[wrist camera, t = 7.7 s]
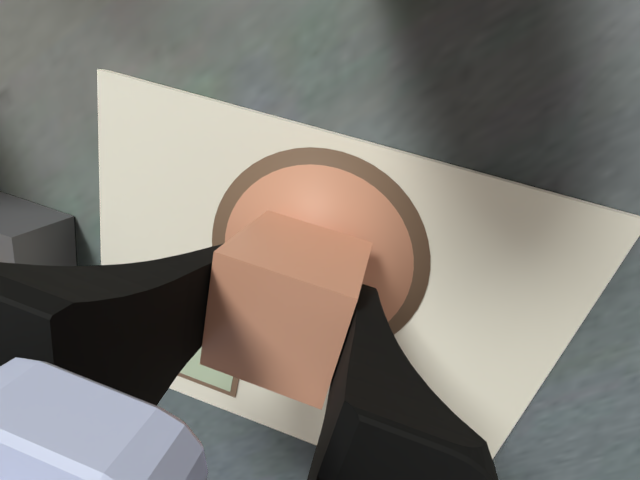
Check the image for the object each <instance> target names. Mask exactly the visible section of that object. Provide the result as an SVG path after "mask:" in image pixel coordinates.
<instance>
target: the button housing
mask: <svg viewBox="0 0 640 480" xmlns="http://www.w3.org/2000/svg"><path fill="white" fill-rule="evenodd" d="M0 262H4V263H17V264H30V265H47V266H77V262H76V243H75V224H74V216H72V215H69V214H66V213H63V212H60V211H57V210H54V209H51V208H48V207H45V206H42V205H39V204H36V203H33V202H30V201H28V200H25V199H22V198H19V197H16V196H13V195H10V194H7V193H4V192H1V191H0Z"/></svg>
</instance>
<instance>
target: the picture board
mask: <svg viewBox="0 0 640 480" xmlns="http://www.w3.org/2000/svg"><path fill="white" fill-rule="evenodd" d="M97 88H98V138H99V187H100V237H101V265H114V264H127V263H135V262H143V261H150V260H156V259H162V258H166V257H171V256H176V255H180V254H185V253H189V252H193V251H197V250H201V249H205V248H209V247H212V246H216V245H220V244H224V243H225V242H227V241H228V240H229V239H231V238H232V237H233V236H235V235H236V234H237V233H238V232H240V231H241V230H242V229H244V228H245V227H246V226H248V225H249V224H250V223H252V222H253V221H254V220H255V219H257V218H258V217H259V216H261V215H262V214H263V213H265V212H266V211H267V210H269V211H272V212H276V213H279V214H282V215H285V216H289V217H292V218H295V219H298V220H301V221H305V222H308V223H311V224H314V225H318V226H321V227H324V228H327V229H331V230H334V231H337V232H340V233H343V234H347V235H350V236H353V237H356V238H360V239H363V240H366V241H369V242H373V243H372V247H371V251H370V255H369V259H368V263H367V266H366V270H365V274H364V278H363V282H362V284H364V285H368V286H371V287H374V288H376V289H377V291H378V295H379V298H380V302H381V305H382V308H383V311H384V313H385V316H386V318H387V321H388V323H389V326H390V328H391V330H392V332H393V334H394V336H395V338H396V340H397V342H398V344H399V346H400V348H401V349H402V351H403V352H404V354H405V355H406V357H407V358H408V360H409V362H410V363H411V364H412V366H413V367H414V369H415V370H416V371H417V373H418V374H419V375H420V376H421V378H422V379H423V380H424V381H425V382H426V384H427V385H428V386H429V387H430V388H431V390H432V391H433V392H434V393H435V394H436V395H437V396H438V397H439V398H440V399H441V400H442V401H443V402H444V403H445V404H446V405H447V406H448V407H449V408H450V410H451V411H452V412H453V413H455V414H456V415H457V416H458V417H459V418H460V419H461V420H462V421H463V422H465V423H466V424H467V425H468V426H469V427H470V428H471V429H473V430H474V431H475V432H476V433H477V434H478V435H479V436H481V437H482V438H483V439H484V440H485V441H486V442H487V445H488V448H489V451H490V454H491V457H492V460H493V458H494V456H495V455H496V453H497V452H498V450H499V449H500V447H501V446H502V444H503V443H504V441H505V440H506V438H507V437H508V435H509V434H510V432H511V431H512V429H513V428H514V426H515V424H516V423H517V421H518V420H519V418H520V417H521V415H522V414H523V412H524V411H525V409H526V408H527V406H528V405H529V403H530V402H531V400H532V399H533V397H534V396H535V394H536V392H537V391H538V389H539V388H540V386H541V385H542V383H543V382H544V380H545V379H546V377H547V376H548V374H549V373H550V371H551V370H552V368H553V367H554V365H555V364H556V362H557V360H558V359H559V357H560V356H561V354H562V353H563V351H564V350H565V348H566V347H567V345H568V344H569V342H570V341H571V339H572V338H573V336H574V335H575V333H576V332H577V330H578V328H579V327H580V325H581V324H582V322H583V321H584V319H585V318H586V316H587V315H588V313H589V312H590V310H591V309H592V307H593V306H594V304H595V303H596V301H597V300H598V298H599V296H600V295H601V293H602V292H603V290H604V289H605V287H606V286H607V284H608V283H609V281H610V280H611V278H612V277H613V275H614V274H615V272H616V271H617V269H618V268H619V266H620V264H621V263H622V261H623V260H624V258H625V257H626V255H627V254H628V252H629V251H630V249H631V248H632V246H633V245H634V243H635V242H636V240H637V239H638V237H639V236H640V216H638V215H635V214H631V213H627V212H624V211H620V210H616V209H613V208H609V207H605V206H602V205H598V204H595V203H591V202H587V201H584V200H580V199H576V198H573V197H569V196H565V195H562V194H558V193H554V192H551V191H547V190H544V189H540V188H536V187H533V186H529V185H525V184H522V183H518V182H514V181H511V180H507V179H503V178H500V177H496V176H493V175H489V174H485V173H482V172H478V171H474V170H471V169H467V168H463V167H460V166H456V165H452V164H449V163H445V162H442V161H438V160H434V159H431V158H427V157H423V156H420V155H416V154H412V153H409V152H405V151H401V150H398V149H394V148H391V147H387V146H383V145H380V144H376V143H372V142H369V141H365V140H361V139H358V138H354V137H350V136H347V135H343V134H340V133H336V132H332V131H329V130H325V129H321V128H318V127H314V126H310V125H307V124H303V123H299V122H296V121H292V120H289V119H285V118H281V117H278V116H274V115H270V114H267V113H263V112H259V111H256V110H252V109H248V108H245V107H241V106H238V105H234V104H230V103H227V102H223V101H219V100H216V99H212V98H208V97H205V96H201V95H197V94H194V93H190V92H187V91H183V90H179V89H176V88H172V87H168V86H165V85H161V84H157V83H154V82H150V81H146V80H143V79H139V78H136V77H132V76H128V75H125V74H121V73H117V72H114V71H110V70H102V69H97ZM201 349H202V347H201V348H200V349H199V350H198V351H197V353H196V354H195V355H194V356H193V357H192V358H191V359H190V360H189V362H188V363H187V364H186V365H185V367H184V368H183V369H182V370H181V371H180V373H179V374H178V376H177V377H176V378H175V380H174V381H173V383H172V384H171V385H170V387H169V388H170V389H173V390H175V391H178V392H180V393H183V394H186V395H188V396H191V397H193V398H196V399H198V400H201V401H204V402H206V403H209V404H211V405H214V406H216V407H219V408H222V409H224V410H227V411H229V412H232V413H234V414H237V415H240V416H242V417H245V418H247V419H250V420H252V421H255V422H258V423H260V424H263V425H265V426H268V427H270V428H273V429H276V430H278V431H281V432H283V433H286V434H288V435H291V436H294V437H296V438H299V439H301V440H304V441H306V442H309V443H312V444H314V445H317V443H318V440H319V436H320V432H321V429H322V425H323V421H324V416H325V411H326V406H327V400H328V394H329V389H330V386H329V389H328V392H327V395H326V398H325V401H324V404H323V407H322V410H321V409H318V408H315V407H313V406H310V405H307V404H305V403H302V402H299V401H297V400H294V399H291V398H289V397H286V396H283V395H281V394H278V393H275V392H273V391H270V390H267V389H265V388H262V387H259V386H257V385H254V384H251V383H249V382H246V381H243V380H241V379H238V378H235V377H233V376H230V375H227V374H225V373H222V372H219V371H217V370H214V369H211V368H209V367H206V366H203V365H201V364H200V358H201Z"/></svg>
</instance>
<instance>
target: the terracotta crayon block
mask: <svg viewBox="0 0 640 480" xmlns="http://www.w3.org/2000/svg"><path fill="white" fill-rule="evenodd" d="M372 243H373V242H369V241H366V240H363V239H360V238H356V237H353V236H350V235H347V234H343V233H340V232H337V231H334V230H331V229H327V228H324V227H321V226H318V225H314V224H311V223H308V222H305V221H301V220H298V219H295V218H292V217H289V216H285V215H282V214H279V213H276V212H272V211H269V210H267V211H266V212H265V213H263V214H262V215H261V216H259V217H258V218H257V219H255V220H254V221H253V222H252V223H250V224H249V225H248V226H246V227H245V228H244V229H242V230H241V231H240V232H238V233H237V234H236V235H235V236H233V237H232V238H231V239H229V240H228V241H227V242H225V243H224V244H223V245H221V246H220V247H219V248H218V249H216V250H215V251H214V253H213V261H212V269H211V277H210V285H209V293H208V301H207V309H206V317H205V325H204V333H203V341H202V349H201V358H200V364H201V365H203V366H206V367H209V368H211V369H214V370H217V371H219V372H222V373H225V374H227V375H230V376H233V377H235V378H238V379H241V380H243V381H246V382H249V383H251V384H254V385H257V386H259V387H262V388H265V389H267V390H270V391H273V392H275V393H278V394H281V395H283V396H286V397H289V398H291V399H294V400H297V401H299V402H302V403H305V404H307V405H310V406H313V407H315V408H318V409H321V410H322V407H323V404H324V401H325V398H326V395H327V392H328V389H329V386H330V383H331V380H332V377H333V374H334V371H335V368H336V365H337V362H338V358H339V355H340V352H341V349H342V346H343V343H344V340H345V337H346V334H347V331H348V328H349V325H350V322H351V319H352V316H353V313H354V310H355V307H356V304H357V301H358V297H359V293H360V290H361V286H362V282H363V278H364V274H365V270H366V266H367V263H368V259H369V255H370V251H371V247H372Z"/></svg>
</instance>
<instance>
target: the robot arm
mask: <svg viewBox="0 0 640 480" xmlns="http://www.w3.org/2000/svg"><path fill="white" fill-rule="evenodd" d="M221 245H223V244H220V245H216V246H212V247H209V248H205V249H201V250H197V251H193V252H189V253H185V254H180V255H176V256H171V257H166V258H162V259H156V260H150V261H143V262H135V263H127V264H114V265H97V266H47V265H30V264H17V263H4V262H0V480H207V474H208V469H207V464H206V458H205V453H204V448H203V446H202V443H201V442H200V441H199V439H198V438H197V437H196V435H195V434H194V433H193V432H192V430H191V429H190V428H189V427H188V425H187V424H186V423H185V422H184V421H182V420H180V419H179V418H177V417H176V416H174V415H172V414H171V413H169V412H167V411H166V410H164V409H163V408H161V407H158V406H157V404H158V403H159V401H160V400H161V398H162V397H163V395H164V394H165V393H166V391H167V390H168V388H169V387H170V385H171V384H172V383H173V381H174V380H175V378H176V377H177V376H178V374H179V373H180V371H181V370H182V369H183V368H184V367H185V365H186V364H187V363H188V362H189V360H190V359H191V358H192V357H193V356H194V355H195V354H196V353H197V351H198V350H199V349H200V348H201V347H202V341H203V333H204V325H205V317H206V309H207V301H208V293H209V285H210V277H211V269H212V261H213V253H214V251H215V250H216V249H218V248H219V247H220V246H221ZM307 480H498V476H497V473H496V469H495V466H494V462H493V460H492V457H491V454H490V451H489V448H488V445H487V442H486V441H485V440H484V439H483V438H482V437H481V436H479V435H478V434H477V433H476V432H475V431H474V430H473V429H471V428H470V427H469V426H468V425H467V424H466V423H465V422H463V421H462V420H461V419H460V418H459V417H458V416H457V415H456V414H455V413H453V412H452V411H451V410H450V408H449V407H448V406H447V405H446V404H445V403H444V402H443V401H442V400H441V399H440V398H439V397H438V396H437V395H436V394H435V393H434V392H433V391H432V390H431V388H430V387H429V386H428V385H427V384H426V382H425V381H424V380H423V379H422V378H421V376H420V375H419V374H418V373H417V371H416V370H415V369H414V367H413V366H412V364H411V363H410V362H409V360H408V358H407V357H406V355H405V354H404V352H403V351H402V349H401V348H400V346H399V344H398V342H397V340H396V338H395V336H394V334H393V332H392V330H391V328H390V326H389V323H388V321H387V318H386V316H385V313H384V311H383V308H382V305H381V302H380V298H379V295H378V291H377V289H376V288H374V287H371V286H368V285H364V284H362V286H361V290H360V293H359V297H358V301H357V304H356V307H355V310H354V313H353V316H352V319H351V322H350V325H349V328H348V331H347V334H346V337H345V340H344V343H343V346H342V349H341V352H340V355H339V358H338V362H337V365H336V368H335V371H334V374H333V377H332V380H331V383H330V389H329V394H328V400H327V406H326V411H325V416H324V421H323V425H322V429H321V432H320V436H319V440H318V443H317V447H316V450H315V454H314V458H313V461H312V465H311V468H310V472H309V475H308V479H307Z"/></svg>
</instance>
